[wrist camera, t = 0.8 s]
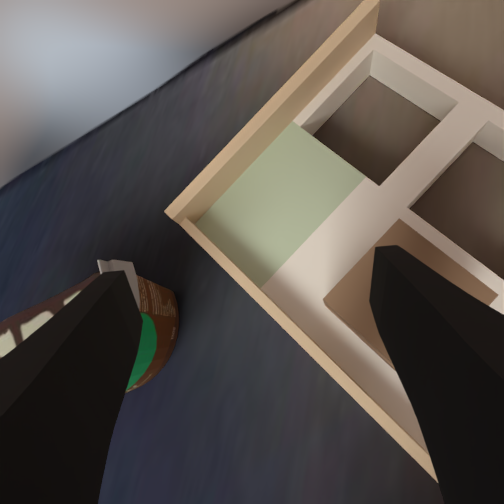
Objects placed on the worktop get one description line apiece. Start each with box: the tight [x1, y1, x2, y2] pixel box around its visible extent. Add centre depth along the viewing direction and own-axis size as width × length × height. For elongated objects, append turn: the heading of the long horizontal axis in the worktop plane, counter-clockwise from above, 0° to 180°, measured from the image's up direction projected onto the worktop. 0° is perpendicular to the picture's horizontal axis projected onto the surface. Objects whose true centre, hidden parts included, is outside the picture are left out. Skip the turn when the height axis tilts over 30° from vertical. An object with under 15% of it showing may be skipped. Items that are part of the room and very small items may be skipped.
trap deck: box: [164, 0, 504, 482], centre depth 21 cm, size 20×18×5 cm
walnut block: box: [323, 218, 498, 371], centre depth 18 cm, size 5×5×5 cm
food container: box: [0, 260, 179, 393], centre depth 21 cm, size 12×6×10 cm, turn 116°
